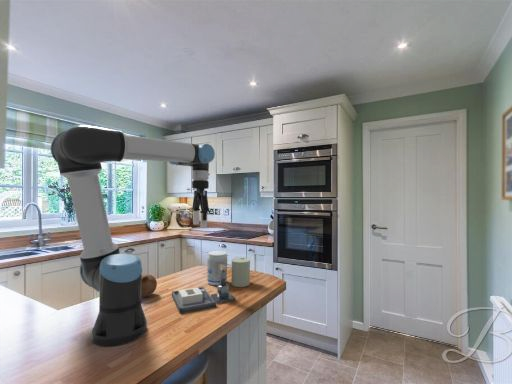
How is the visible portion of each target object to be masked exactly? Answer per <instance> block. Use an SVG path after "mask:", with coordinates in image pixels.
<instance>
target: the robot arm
mask: <svg viewBox="0 0 512 384" xmlns="http://www.w3.org/2000/svg"><path fill="white" fill-rule="evenodd" d="M50 154H51V157H52V158H53V160H54V162H56V163H57V167H58V170H59V174H60V175H61V176H62V177H64V178H65V179H67V183H68V188H69V191H70V197H71V201H72V205H73V209H74V213H75V217H76V221H77V226H78V230H79V235H80V239H81V243H82V248H83V250H82V252H81V253H80V255H79V258H80V263H81V264H80V266H79V275H80V277H81V280H82V281H83V282H84V284H86V285H87V286H88V287H90V288H92V289H94V290H95V291H97V292H98V293H99V303H98V304H99V306H98V307H99V311H98V314H97V317H96V319H95V322H94V326H93V328H92V332H91V339H92V340H91V341H92V343H93V344H95V345H98V346H103V347H114V346H120V345H124V344H128V343H130V342H133V341H134V340H137V339H139V338H140V337H142V336H143V335H144V334H145V333H146V331H147V326H148V324H147V323H148V321H147V317H146V315H145V312H144V309H143V306H142V297H141V282H142V275H143V274H142V273H143V267H142V265H143V264H142V261H141V259H140V257H138V256H137V255H134V254H127V253H121V251H120V246H119V245H118V244H116V243H115V242H113V238H112V234H111V233H112V232H111V230H110V225H109V220H108V216H107V215H108V214H107V210H106V207H105V201H104V198H103V197H104V195H103V191H102V187H101V183H100V177H99V175H100V173H101V172H102V170H103V167H102V163H106V162H119V163H121V162H122V161H123V160H125V159H126V160H138V161H139V160H140V161H154V162H168V163H169V164H171V165H173V166H174V165H175V166H183V167H191V180H192V181H191V188H192V189H193V190H194V189H195V190H194V191H193V202H192V207H191V208H192V210H193V217H192V219H193V222H192V223H193V224H192V225H200V229H207V228H208V212H210V209H209V200H208V189H209V187H210V186H209V184H210V183H209V176H210V172H209V169H210V168H209V167H210V166H209V165H210V163H211V162H213V160H214V159H215V156H216V155H215V154H216V153H215V149H214V147H213V146H212V145H211V144H209V143H201V144H197V143H189V142H181V141H174V140H167V139H166V140H165V139H159V138H151V137H144V136H136V135H129V134H125V133H124V132H123V131H121V130H118V129H117V130H116V129H110V128H105V127H98V126H92V125H83V124H82V125H76V126H74V127H70V128H69V129H67V130H64V131H62V132H60V133H58V134H57V135H56V136H55V137H54V138H53V140H52V141H51V144H50ZM206 189H207V190H206Z"/></svg>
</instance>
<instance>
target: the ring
mask: <svg viewBox="0 0 512 384" xmlns="http://www.w3.org/2000/svg"><path fill="white" fill-rule="evenodd" d="M204 289H205V288H204ZM204 289H200V290H199V288H198V287H191V288H185V289H178V290H177V291H178V298H179V300H180V302H181V304H182V305H184V304H190V303H196V302H201V301H203V298H205V290H206V289H205V290H204Z"/></svg>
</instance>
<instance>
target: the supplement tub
mask: <svg viewBox="0 0 512 384" xmlns="http://www.w3.org/2000/svg"><path fill="white" fill-rule="evenodd" d="M220 264H224V265H225V266H227V267H228V252H227V251H224V250H213V251H208V253H207V269H206V270H207V274H206V276H207V277H206V282H207V284H209V285H211V286H217V285H218V284H220V270H221V268H220ZM227 276H228V269H227V270H226V282H227V281H228V277H227Z"/></svg>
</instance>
